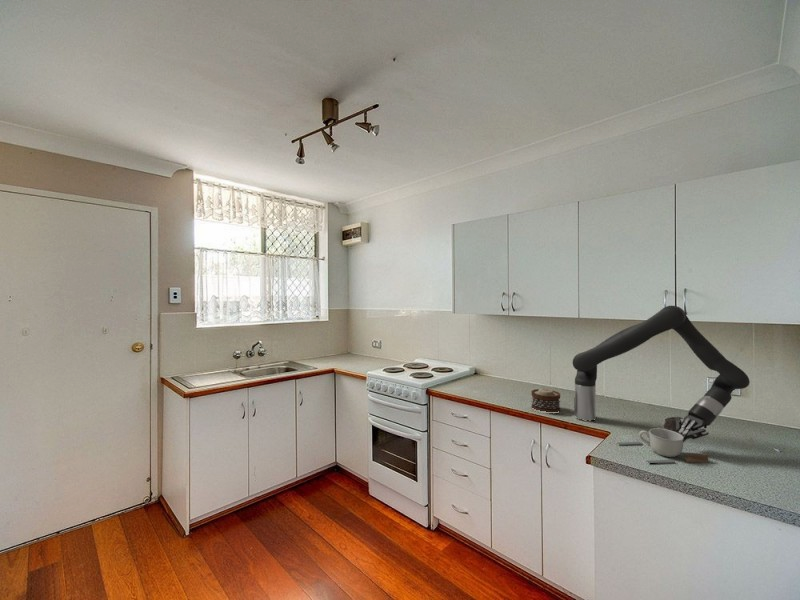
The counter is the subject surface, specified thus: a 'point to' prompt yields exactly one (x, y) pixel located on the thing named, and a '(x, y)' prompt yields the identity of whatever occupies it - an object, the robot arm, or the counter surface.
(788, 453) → the counter surface
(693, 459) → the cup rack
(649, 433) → the teacup
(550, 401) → the chocolate cake
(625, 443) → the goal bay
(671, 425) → the perforated stone tool
